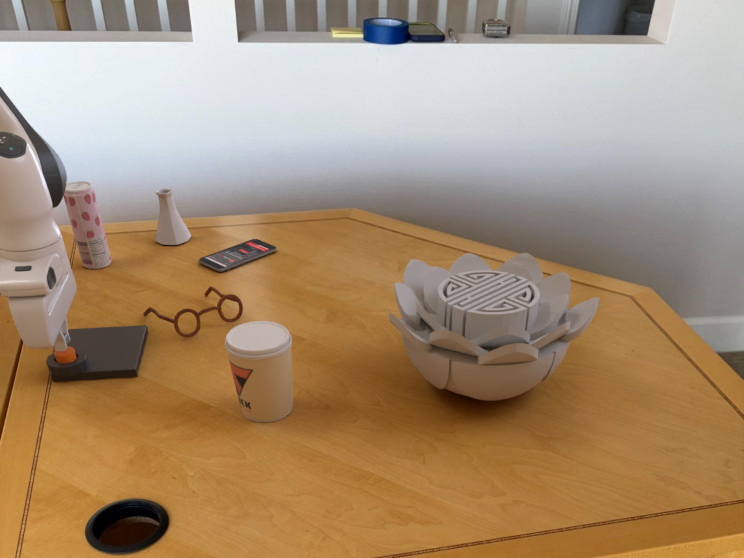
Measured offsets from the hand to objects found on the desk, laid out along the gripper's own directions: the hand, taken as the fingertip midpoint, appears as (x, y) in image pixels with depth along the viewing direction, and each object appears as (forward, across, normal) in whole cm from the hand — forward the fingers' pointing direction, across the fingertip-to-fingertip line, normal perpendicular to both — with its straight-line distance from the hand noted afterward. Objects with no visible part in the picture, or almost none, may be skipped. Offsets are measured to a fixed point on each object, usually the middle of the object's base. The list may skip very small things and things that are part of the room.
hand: (63, 346), depth 120 cm
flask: (+5, -54, +11) cm, 56 cm away
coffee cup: (+5, +14, +31) cm, 34 cm away
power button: (+2, 0, 0) cm, 2 cm away
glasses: (+5, -18, +18) cm, 26 cm away
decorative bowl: (+5, +8, +64) cm, 65 cm away
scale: (+5, -6, +4) cm, 8 cm away
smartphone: (+5, -44, +25) cm, 50 cm away
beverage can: (+5, -44, -3) cm, 44 cm away
